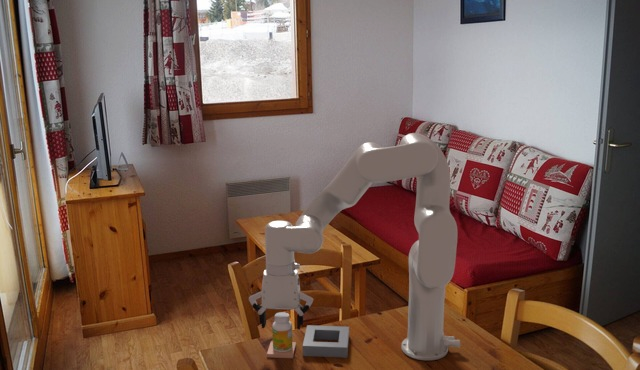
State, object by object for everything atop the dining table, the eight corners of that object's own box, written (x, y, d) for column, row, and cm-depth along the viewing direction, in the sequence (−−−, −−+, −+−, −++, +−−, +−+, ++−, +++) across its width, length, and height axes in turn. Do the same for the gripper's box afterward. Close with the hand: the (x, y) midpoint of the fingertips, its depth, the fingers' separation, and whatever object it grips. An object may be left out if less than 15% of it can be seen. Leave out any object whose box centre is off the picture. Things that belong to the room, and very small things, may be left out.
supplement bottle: (269, 349, 175) (268, 317, 173) (279, 341, 180) (278, 309, 178) (286, 354, 173) (285, 321, 170) (296, 345, 178) (295, 313, 175)
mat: (295, 345, 180) (295, 342, 180) (292, 358, 173) (292, 354, 173) (271, 344, 180) (270, 341, 180) (267, 357, 174) (266, 353, 173)
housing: (348, 336, 185) (349, 326, 184) (347, 357, 173) (347, 347, 173) (307, 334, 186) (307, 325, 185) (302, 355, 174) (302, 345, 174)
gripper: (314, 263, 173) (314, 321, 178) (250, 261, 175) (252, 319, 179) (311, 273, 166) (312, 334, 171) (245, 272, 168) (247, 332, 172)
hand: (281, 326), depth 175 cm, fingers open, 9 cm apart
